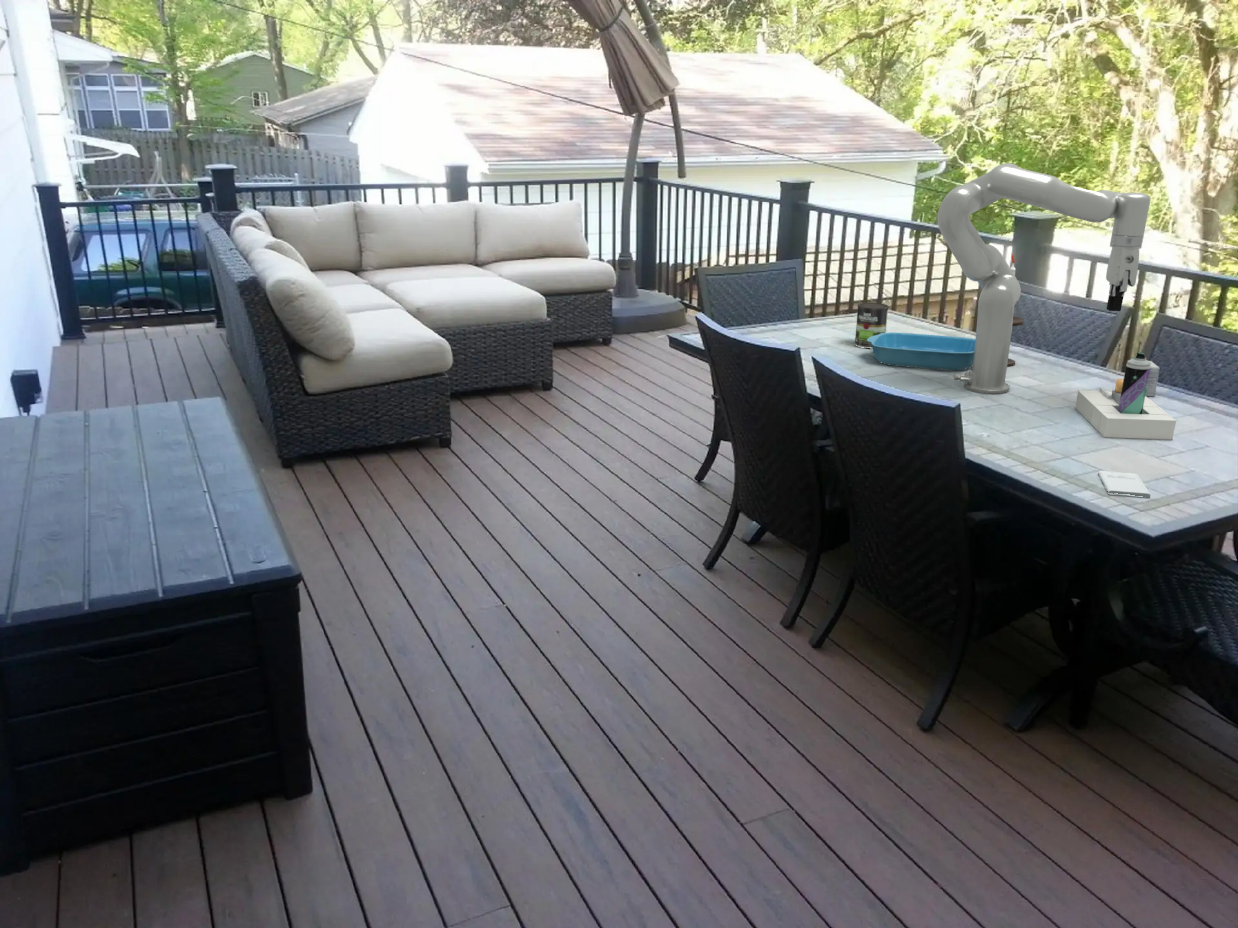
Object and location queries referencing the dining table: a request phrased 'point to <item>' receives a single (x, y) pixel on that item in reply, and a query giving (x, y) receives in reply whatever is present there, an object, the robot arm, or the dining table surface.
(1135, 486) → the external hard drive
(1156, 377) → the medicine box
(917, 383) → the dining table surface
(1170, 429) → the block
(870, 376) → the dining table surface
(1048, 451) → the dining table surface
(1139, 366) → the spray can
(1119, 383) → the bar
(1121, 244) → the robot arm
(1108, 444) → the dining table surface
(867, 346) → the coffee can
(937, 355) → the casserole dish
